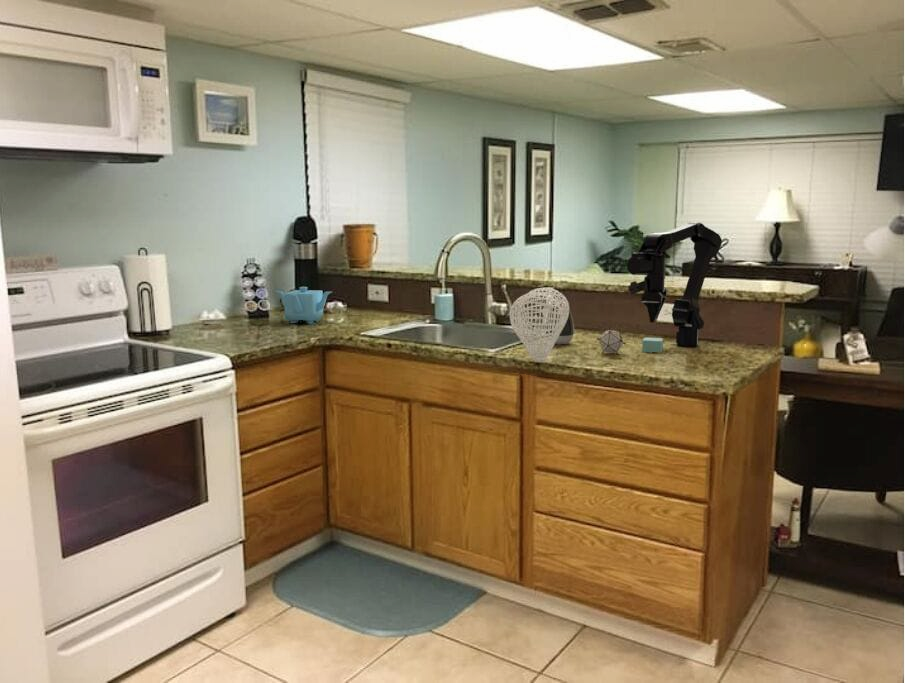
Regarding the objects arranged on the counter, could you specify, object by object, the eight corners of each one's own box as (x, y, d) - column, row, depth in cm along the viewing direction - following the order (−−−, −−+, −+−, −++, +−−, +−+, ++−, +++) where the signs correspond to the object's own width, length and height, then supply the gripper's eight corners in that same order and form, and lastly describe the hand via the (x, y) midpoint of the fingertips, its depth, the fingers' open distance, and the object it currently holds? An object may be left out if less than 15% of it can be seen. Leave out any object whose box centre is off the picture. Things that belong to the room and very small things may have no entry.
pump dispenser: (577, 342, 273) (578, 299, 270) (569, 347, 264) (570, 302, 261) (549, 340, 277) (550, 297, 275) (540, 344, 268) (541, 301, 265)
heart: (556, 373, 223) (558, 296, 219) (504, 370, 228) (504, 294, 224) (571, 355, 250) (572, 286, 246) (524, 352, 254) (524, 284, 250)
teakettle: (314, 317, 336) (312, 283, 333) (335, 322, 321) (334, 287, 319) (273, 322, 324) (271, 286, 322) (293, 327, 310) (292, 290, 307)
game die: (604, 363, 254) (592, 337, 258) (628, 354, 254) (615, 327, 258) (606, 355, 246) (593, 328, 249) (631, 345, 246) (618, 318, 249)
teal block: (662, 350, 258) (663, 338, 257) (660, 353, 253) (661, 341, 252) (644, 349, 260) (644, 337, 259) (642, 352, 255) (642, 340, 254)
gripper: (634, 269, 263) (633, 315, 266) (625, 274, 246) (624, 323, 249) (668, 270, 259) (666, 316, 262) (661, 275, 242) (660, 325, 245)
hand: (653, 320), depth 255 cm, fingers open, 9 cm apart
